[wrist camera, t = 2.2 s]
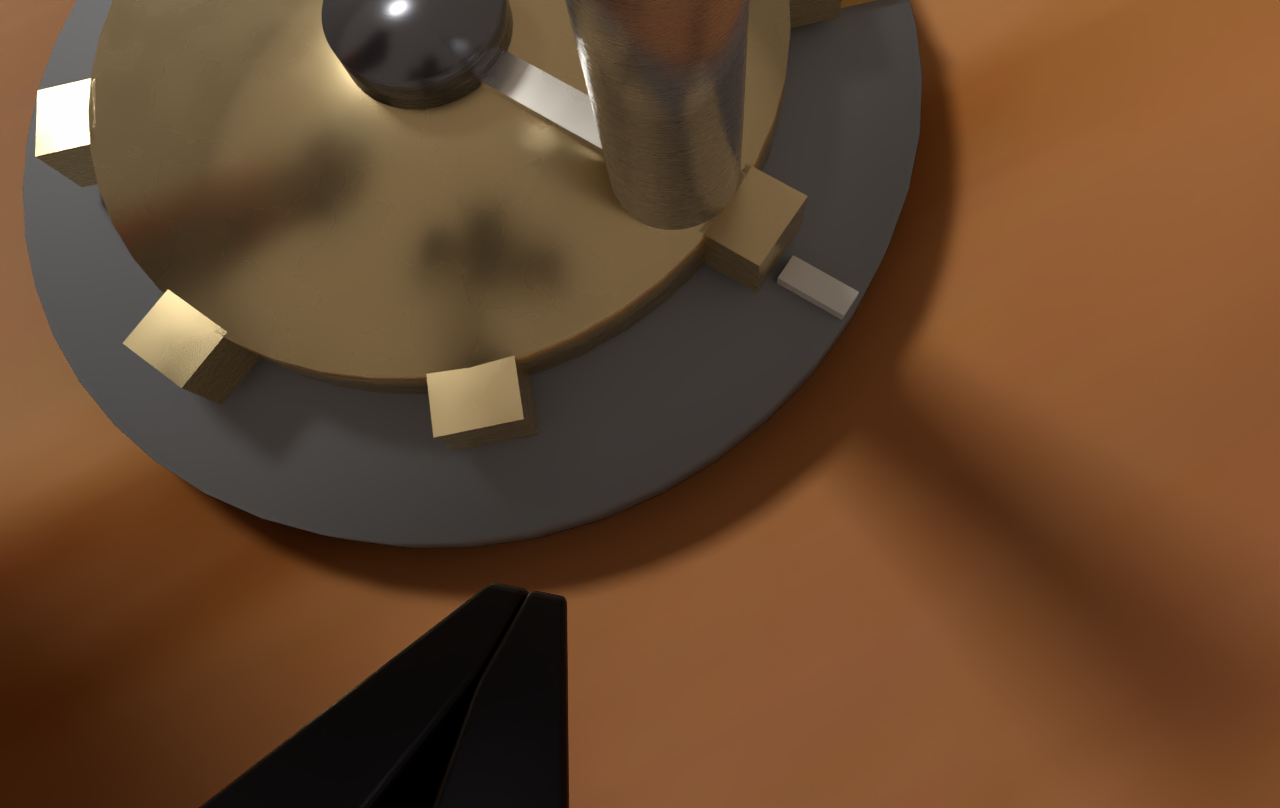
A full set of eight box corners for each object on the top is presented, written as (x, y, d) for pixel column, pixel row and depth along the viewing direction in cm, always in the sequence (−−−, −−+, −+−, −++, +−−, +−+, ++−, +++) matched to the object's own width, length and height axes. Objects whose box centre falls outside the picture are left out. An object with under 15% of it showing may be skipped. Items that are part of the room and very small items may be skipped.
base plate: (1075, 349, 19) (1110, 322, 18) (130, 689, 19) (72, 696, 18) (719, -307, 26) (719, -373, 24) (24, -54, 26) (-25, -101, 25)
